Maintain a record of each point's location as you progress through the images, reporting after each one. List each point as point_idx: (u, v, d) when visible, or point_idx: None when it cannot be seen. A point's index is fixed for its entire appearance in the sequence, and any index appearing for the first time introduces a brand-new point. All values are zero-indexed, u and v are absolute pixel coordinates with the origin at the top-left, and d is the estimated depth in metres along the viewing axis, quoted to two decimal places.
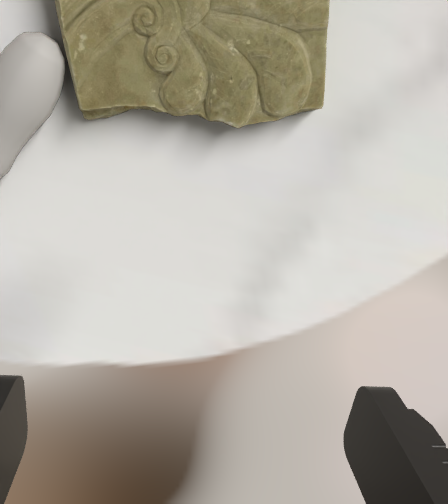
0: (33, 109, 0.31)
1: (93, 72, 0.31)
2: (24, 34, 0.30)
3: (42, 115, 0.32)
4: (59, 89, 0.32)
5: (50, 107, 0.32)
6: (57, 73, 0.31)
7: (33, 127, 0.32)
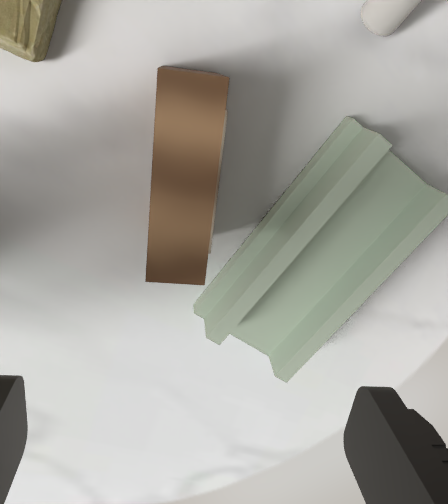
0: None
1: None
2: None
3: None
4: None
5: None
6: None
7: None
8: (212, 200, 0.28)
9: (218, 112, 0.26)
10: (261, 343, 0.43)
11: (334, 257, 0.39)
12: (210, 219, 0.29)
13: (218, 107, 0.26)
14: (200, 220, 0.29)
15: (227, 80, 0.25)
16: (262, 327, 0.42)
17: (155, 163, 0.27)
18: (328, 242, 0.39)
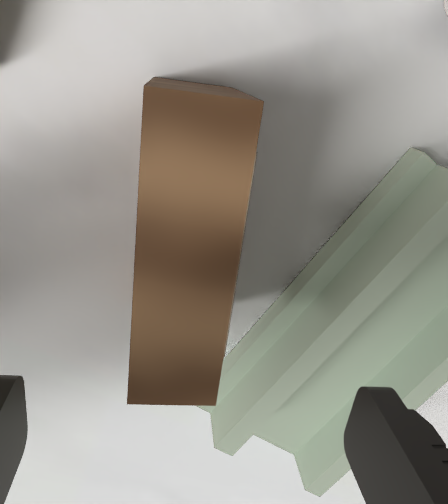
0: None
1: None
2: None
3: None
4: None
5: None
6: None
7: None
8: (230, 289, 0.18)
9: (244, 157, 0.16)
10: (285, 440, 0.32)
11: (386, 333, 0.29)
12: (227, 316, 0.19)
13: (244, 149, 0.16)
14: (211, 318, 0.19)
15: (260, 106, 0.15)
16: (287, 421, 0.32)
17: (141, 237, 0.17)
18: (379, 315, 0.29)
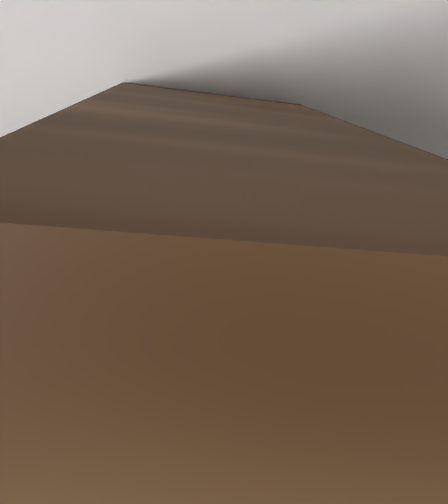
0: None
1: None
2: None
3: None
4: None
5: None
6: None
7: None
8: None
9: None
10: None
11: None
12: None
13: None
14: None
15: None
16: None
17: None
18: None
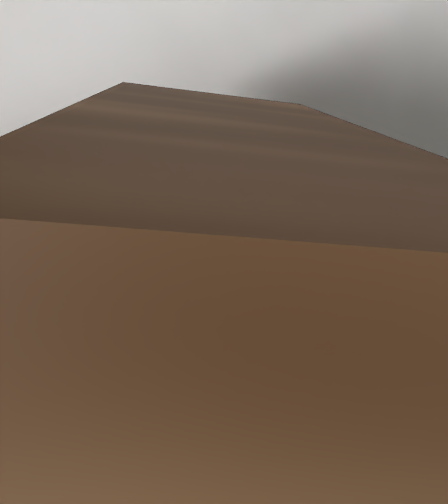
0: None
1: None
2: None
3: None
4: None
5: None
6: None
7: None
8: None
9: None
10: None
11: None
12: None
13: None
14: None
15: None
16: None
17: None
18: None
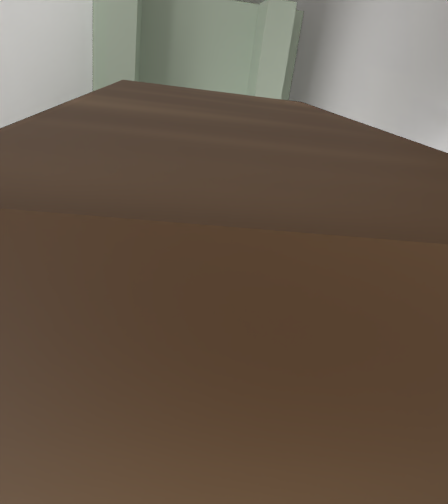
0: None
1: None
2: None
3: None
4: None
5: None
6: None
7: None
8: None
9: None
10: None
11: None
12: None
13: None
14: None
15: None
16: None
17: None
18: None
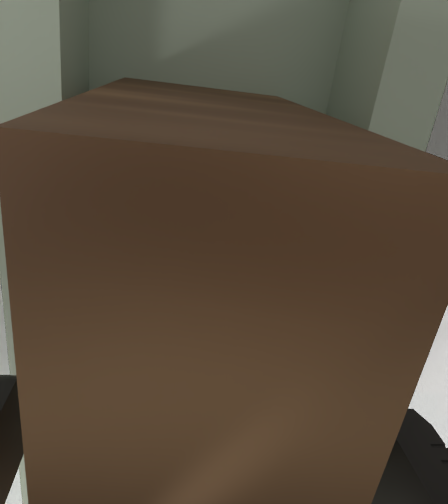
0: None
1: None
2: None
3: None
4: None
5: None
6: None
7: None
8: None
9: (389, 361, 0.05)
10: None
11: None
12: None
13: (394, 339, 0.04)
14: None
15: None
16: None
17: None
18: None
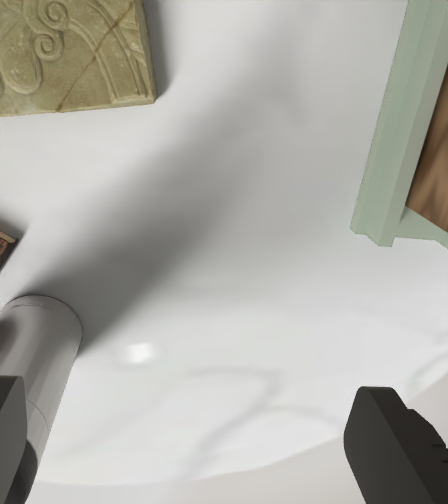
0: None
1: None
2: None
3: None
4: None
5: None
6: None
7: None
8: None
9: None
10: (424, 232, 0.46)
11: None
12: None
13: None
14: None
15: None
16: (418, 218, 0.45)
17: None
18: None
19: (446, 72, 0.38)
